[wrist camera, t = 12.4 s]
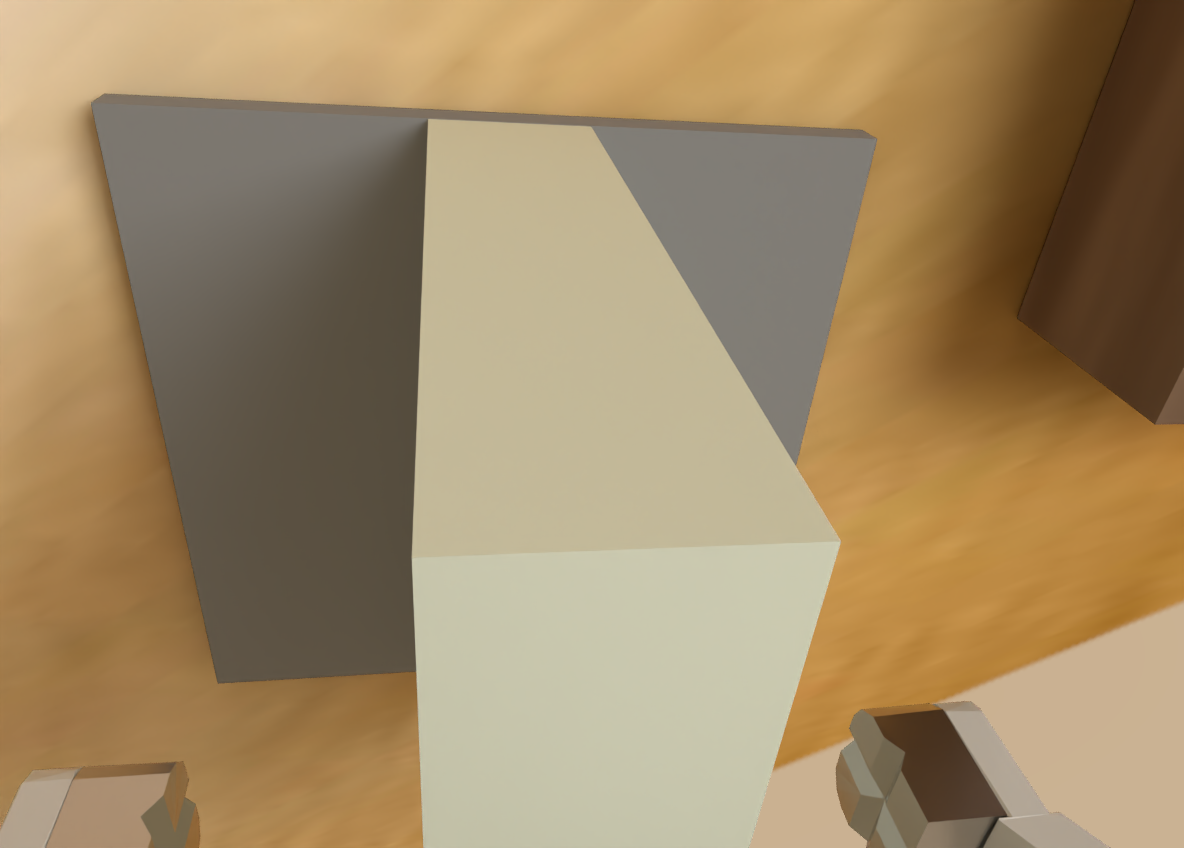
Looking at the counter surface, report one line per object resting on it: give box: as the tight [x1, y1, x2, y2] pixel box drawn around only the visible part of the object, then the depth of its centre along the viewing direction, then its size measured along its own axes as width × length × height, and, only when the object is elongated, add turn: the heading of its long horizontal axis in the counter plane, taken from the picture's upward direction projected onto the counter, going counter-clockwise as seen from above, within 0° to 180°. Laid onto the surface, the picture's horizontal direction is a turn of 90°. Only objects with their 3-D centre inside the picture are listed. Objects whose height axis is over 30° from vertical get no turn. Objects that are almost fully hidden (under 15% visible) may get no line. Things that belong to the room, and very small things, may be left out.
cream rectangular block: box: [412, 119, 841, 848], centre depth 12 cm, size 2×12×10 cm, turn 175°
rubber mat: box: [91, 94, 877, 683], centre depth 17 cm, size 12×12×1 cm
